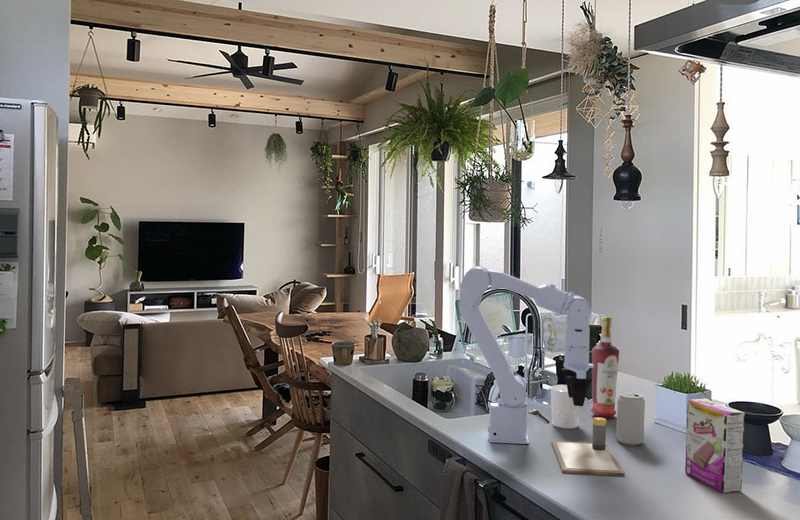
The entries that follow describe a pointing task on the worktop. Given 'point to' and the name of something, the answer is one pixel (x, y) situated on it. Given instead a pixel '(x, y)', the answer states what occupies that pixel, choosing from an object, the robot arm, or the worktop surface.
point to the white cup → (563, 408)
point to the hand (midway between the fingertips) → (575, 401)
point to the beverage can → (630, 418)
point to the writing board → (585, 459)
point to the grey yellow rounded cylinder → (599, 433)
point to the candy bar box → (715, 444)
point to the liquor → (604, 373)
